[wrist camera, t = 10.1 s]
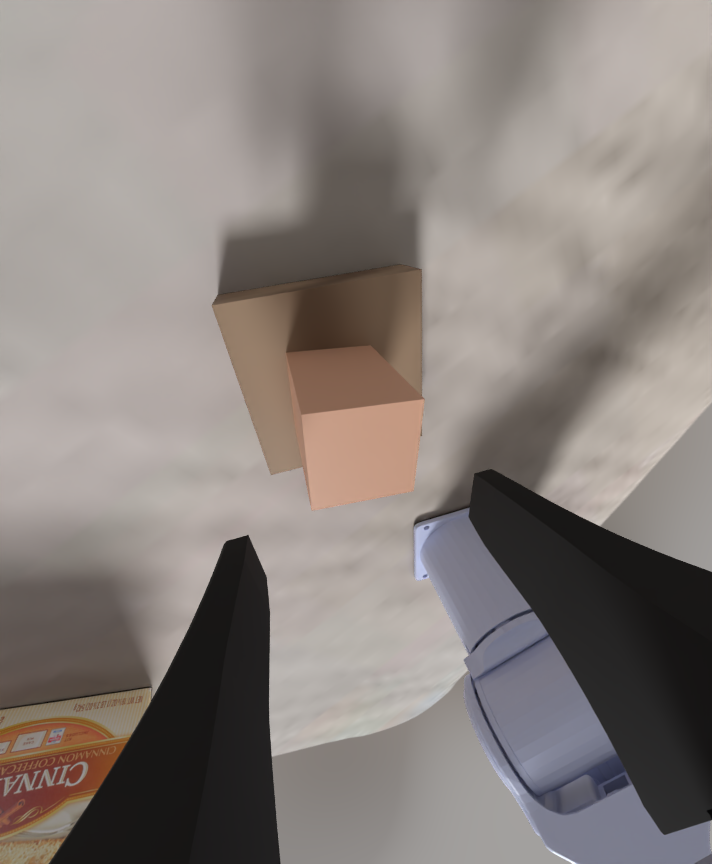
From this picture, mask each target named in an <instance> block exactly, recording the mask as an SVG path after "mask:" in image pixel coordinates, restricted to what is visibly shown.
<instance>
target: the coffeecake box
mask: <svg viewBox="0 0 712 864" xmlns="http://www.w3.org/2000/svg"><path fill="white" fill-rule="evenodd" d="M150 702H151V688H144V689H138V690H131V691H125V692H118V693H111V694H104V695H98V696H91V697H84V698H77V699H71V700H64V701H58V702H51V703H44V704H37V705H30V706H23V707H16V708H10V709H3V710H0V864H49V862H50V861H51V859H52V858H53V856H54V855H55V853H56V852H57V850H58V849H59V847H60V846H61V844H62V843H63V841H64V840H65V839H66V837H67V836H68V834H69V833H70V831H71V830H72V828H73V827H74V825H75V824H76V822H77V821H78V819H79V818H80V816H81V815H82V813H83V812H84V810H85V809H86V807H87V806H88V804H89V803H90V801H91V799H92V798H93V796H94V795H95V793H96V792H97V790H98V789H99V787H100V785H101V784H102V782H103V781H104V779H105V777H106V776H107V774H108V773H109V771H110V769H111V768H112V766H113V764H114V763H115V761H116V760H117V758H118V756H119V755H120V753H121V751H122V750H123V748H124V746H125V745H126V743H127V742H128V740H129V738H130V737H131V735H132V733H133V732H134V730H135V728H136V727H137V725H138V723H139V721H140V720H141V718H142V716H143V714H144V713H145V711H146V709H147V707H148V706H149V704H150Z"/></svg>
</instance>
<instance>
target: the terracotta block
mask: <svg viewBox="0 0 712 864" xmlns="http://www.w3.org/2000/svg"><path fill="white" fill-rule="evenodd" d="M286 358H287V366H288V374H289V383H290V391H291V399H292V407H293V415H294V423H295V430H296V435H297V440H298V445H299V450H300V455H301V460H302V465H303V470H304V475H305V480H306V485H307V490H308V495H309V500H310V505H311V510H312V511H313V510H319V509H324V508H329V507H334V506H339V505H344V504H350V503H355V502H360V501H365V500H370V499H375V498H381V497H386V496H391V495H396V494H401V493H406V492H412V491H414V483H415V475H416V466H417V458H418V450H419V442H420V434H421V425H422V417H423V409H424V401H425V399H424V398H423V397H422V396H421V395H420V394H419V393H418V392H417V391H416V390H415V389H414V388H413V387H412V386H411V385H410V384H409V383H408V382H407V381H406V380H405V379H404V378H403V377H402V376H401V375H400V374H399V373H398V372H397V371H396V370H395V369H394V368H393V367H392V366H391V365H390V364H389V363H388V362H387V361H386V360H385V359H384V358H383V357H382V356H381V355H380V354H379V353H378V352H377V351H376V350H375V349H374V348H373V347H372V346H371V345H368V346H356V347H344V348H333V349H321V350H310V351H298V352H286Z"/></svg>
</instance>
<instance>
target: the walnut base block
mask: <svg viewBox="0 0 712 864" xmlns="http://www.w3.org/2000/svg"><path fill="white" fill-rule="evenodd" d="M212 307H213V310H214V313H215V316H216V319H217V322H218V325H219V328H220V330H221V333H222V336H223V339H224V342H225V345H226V348H227V350H228V353H229V356H230V359H231V362H232V365H233V368H234V370H235V373H236V376H237V379H238V382H239V385H240V388H241V390H242V393H243V396H244V399H245V402H246V405H247V408H248V410H249V413H250V416H251V419H252V422H253V425H254V428H255V430H256V433H257V436H258V439H259V442H260V445H261V448H262V451H263V453H264V456H265V459H266V462H267V465H268V468H269V471H270V473H271V475H273V474H277V473H281V472H285V471H289V470H292V469H296V468H300V467H303V465H302V460H301V455H300V450H299V445H298V440H297V435H296V430H295V423H294V415H293V407H292V399H291V391H290V383H289V374H288V366H287V358H286V352H298V351H310V350H321V349H333V348H344V347H356V346H368V345H371V346H372V347H373V348H374V349H375V350H376V351H377V352H378V353H379V354H380V355H381V356H382V357H383V358H384V359H385V360H386V361H387V362H388V363H389V364H390V365H391V366H392V367H393V368H394V369H395V370H396V371H397V372H398V373H399V374H400V375H401V376H402V377H403V378H404V379H405V380H406V381H407V382H408V383H409V384H410V385H411V386H412V387H413V388H414V389H415V390H416V391H417V392H418V393H419V394H420V395H421V396H422V269H418V268H414V267H409V266H405V265H401V264H399V265H393V266H387V267H381V268H375V269H370V270H364V271H358V272H352V273H346V274H340V275H334V276H328V277H322V278H316V279H310V280H304V281H298V282H292V283H286V284H280V285H274V286H268V287H262V288H256V289H250V290H244V291H238V292H232V293H226V294H220V295H217V297H216V299H215V301H214V302H213V304H212ZM420 436H422V425H421V434H420Z"/></svg>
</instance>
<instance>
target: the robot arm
mask: <svg viewBox="0 0 712 864" xmlns="http://www.w3.org/2000/svg"><path fill="white" fill-rule="evenodd" d="M414 577H415V579H416V580H417V581H419V580H423V579H426V578H430V580H431V582H432V584H433V586H434V588H435V590H436V592H437V594H438V596H439V598H440V600H441V602H442V604H443V606H444V608H445V610H446V612H447V614H448V615H449V617H450V619H451V621H452V623H453V625H454V627H455V629H456V631H457V633H458V635H459V637H460V639H461V641H462V643H463V645H464V647H465V649H466V651H467V653H468V655H469V656H468V657H466V658H465V659H464V662H465V664H466V666H467V668H468V670H469V672H470V674H468V675H467V676H466V677H465V679H464V701H465V705H466V709H467V712H468V715H469V718H470V720H471V723H472V726H473V728H474V730H475V733H476V735H477V737H478V739H479V741H480V744H481V746H482V748H483V750H484V751H485V753H486V755H487V757H488V759H489V761H490V763H491V764H492V766H493V768H494V769H495V771H496V772H497V774H498V775H499V777H500V778H501V780H502V781H503V783H504V784H505V785H506V786H507V788H508V789H509V790H510V791H511V792H512V794H513V796H514V797H515V799H516V800H517V802H518V804H519V805H520V807H521V809H522V810H523V812H524V814H525V815H526V817H527V819H528V821H529V823H530V824H531V826H532V828H533V830H534V831H535V833H536V834H537V835H539V836H540V837H541V839H542V841H543V843H544V845H545V846H546V848H547V849H548V850H549V851H551V852H552V853H554V854H556V855H557V856H559V857H561V858H563V859H565V860H567V861H569V862H571V863H573V864H712V852H711V849H710V821H711V820H712V572H710V571H708V570H705V569H702V568H699V567H697V566H694V565H691V564H688V563H686V562H683V561H680V560H677V559H675V558H672V557H670V556H667V555H665V554H662V553H659V552H657V551H655V550H652V549H650V548H648V547H645V546H643V545H640V544H638V543H635V542H633V541H631V540H629V539H626V538H624V537H622V536H619V535H617V534H615V533H613V532H610V531H608V530H606V529H604V528H602V527H600V526H598V525H596V524H594V523H592V522H590V521H588V520H586V519H583V518H581V517H580V516H578V515H576V514H574V513H572V512H570V511H568V510H566V509H564V508H562V507H560V506H558V505H556V504H554V503H553V502H551V501H549V500H547V499H545V498H543V497H542V496H540V495H538V494H536V493H534V492H532V491H531V490H529V489H527V488H525V487H523V486H522V485H520V484H518V483H516V482H514V481H513V480H511V479H509V478H507V477H505V476H504V475H502V474H500V473H498V472H496V471H494V470H492V469H490V470H486V471H482V472H479V473H475V474H474V480H473V487H472V494H471V502H470V508H466V509H463V510H460V511H456V512H453V513H449V514H446V515H443V516H439V517H436V518H433V519H429V520H426V521H423V522H419V523H417V524H416V525H415V526H414ZM269 653H270V609H269V597H268V587H267V577H266V575H265V572H264V570H263V568H262V565H261V563H260V561H259V559H258V556H257V554H256V552H255V549H254V547H253V545H252V542H251V540H250V538H249V536H248V535H247V536H243V537H240V538H236V539H232V540H229V541H226V543H225V544H224V546H223V548H222V551H221V554H220V556H219V559H218V562H217V564H216V567H215V569H214V572H213V574H212V577H211V579H210V582H209V584H208V586H207V589H206V591H205V594H204V596H203V598H202V600H201V603H200V605H199V607H198V609H197V611H196V614H195V616H194V618H193V620H192V623H191V625H190V627H189V629H188V631H187V633H186V635H185V637H184V639H183V641H182V643H181V645H180V647H179V649H178V651H177V653H176V655H175V657H174V659H173V661H172V663H171V665H170V667H169V669H168V671H167V673H166V675H165V677H164V678H163V680H162V682H161V684H160V686H159V688H158V690H157V691H156V693H155V695H154V697H153V699H152V700H151V702H150V704H149V706H148V707H147V709H146V711H145V713H144V714H143V716H142V718H141V720H140V721H139V723H138V725H137V727H136V728H135V730H134V732H133V733H132V735H131V737H130V738H129V740H128V742H127V743H126V745H125V746H124V748H123V750H122V751H121V753H120V755H119V756H118V758H117V760H116V761H115V763H114V764H113V766H112V768H111V769H110V771H109V773H108V774H107V776H106V777H105V779H104V781H103V782H102V784H101V785H100V787H99V789H98V790H97V792H96V793H95V795H94V796H93V798H92V799H91V801H90V803H89V804H88V806H87V807H86V809H85V810H84V812H83V813H82V815H81V816H80V818H79V819H78V821H77V822H76V824H75V825H74V827H73V828H72V830H71V831H70V833H69V834H68V836H67V837H66V839H65V840H64V841H63V843H62V844H61V846H60V847H59V849H58V850H57V852H56V853H55V855H54V856H53V858H52V859H51V861H50V862H49V864H280V854H279V843H278V832H277V821H276V809H275V796H274V784H273V771H272V756H271V741H270V726H269Z"/></svg>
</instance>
